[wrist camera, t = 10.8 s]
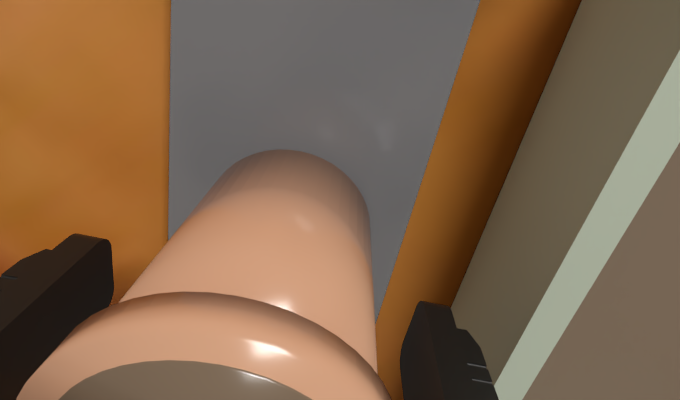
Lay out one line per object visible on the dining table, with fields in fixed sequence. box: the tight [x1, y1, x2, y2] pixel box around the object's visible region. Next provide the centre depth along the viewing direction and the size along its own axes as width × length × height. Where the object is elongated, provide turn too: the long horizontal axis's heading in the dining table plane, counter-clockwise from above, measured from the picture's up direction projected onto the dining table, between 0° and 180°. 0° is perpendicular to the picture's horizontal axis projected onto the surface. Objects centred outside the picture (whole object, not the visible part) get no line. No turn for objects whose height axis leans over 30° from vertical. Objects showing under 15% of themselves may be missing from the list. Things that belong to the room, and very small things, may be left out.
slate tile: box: [168, 0, 480, 324], centre depth 14 cm, size 8×20×1 cm, turn 168°
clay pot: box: [16, 149, 391, 400], centre depth 10 cm, size 6×6×8 cm
